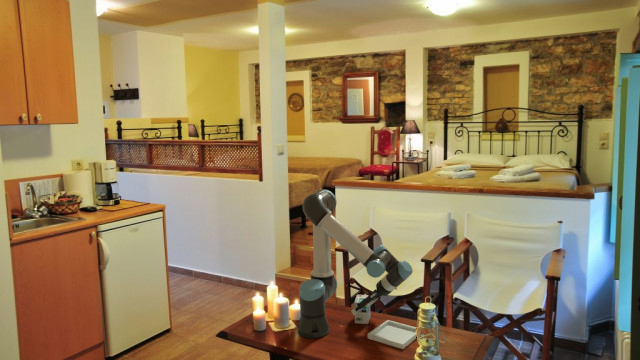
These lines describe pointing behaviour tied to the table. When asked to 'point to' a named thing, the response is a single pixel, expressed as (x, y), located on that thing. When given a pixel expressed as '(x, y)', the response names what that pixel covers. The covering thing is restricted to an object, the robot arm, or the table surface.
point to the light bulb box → (362, 311)
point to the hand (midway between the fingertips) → (360, 308)
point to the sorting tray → (393, 334)
